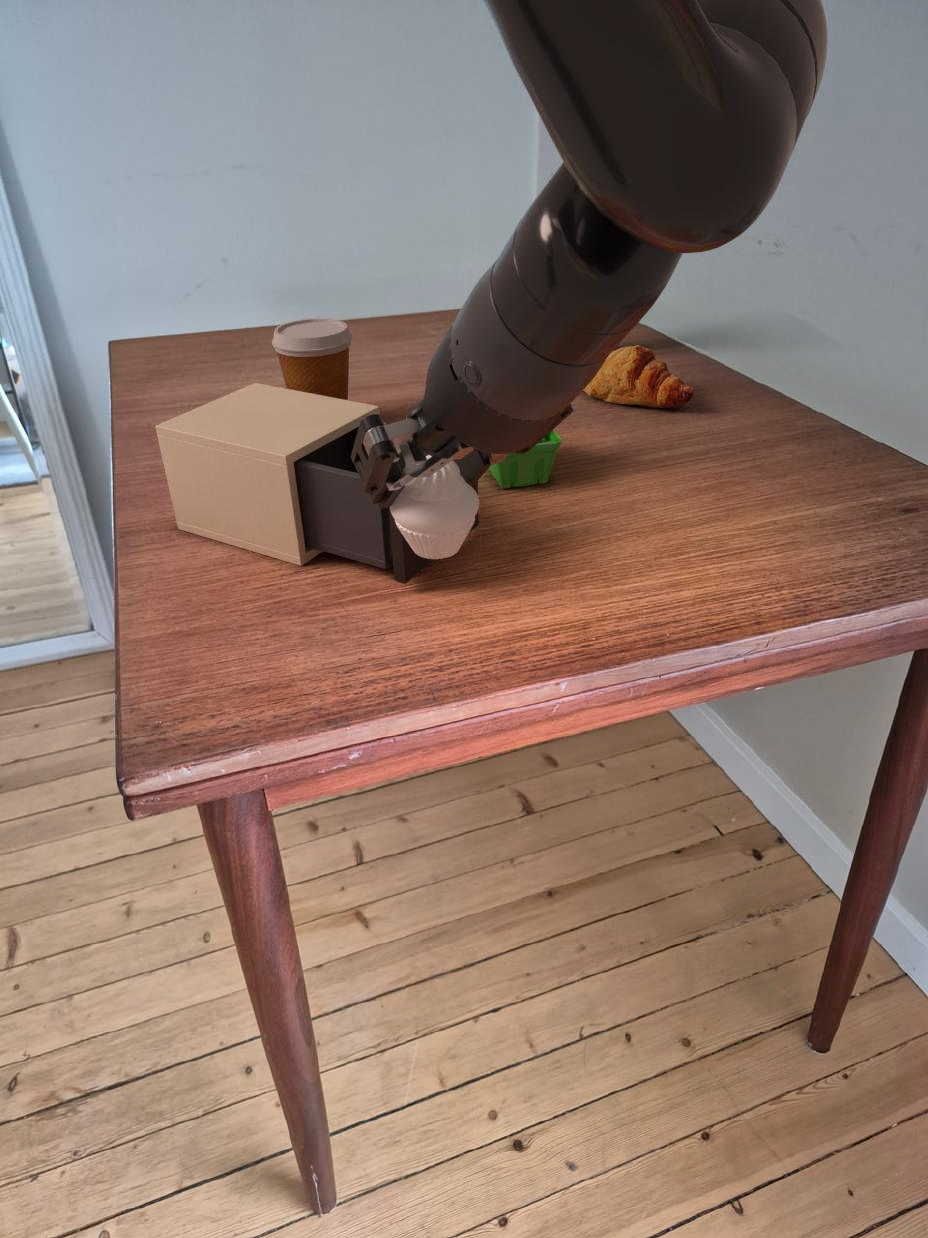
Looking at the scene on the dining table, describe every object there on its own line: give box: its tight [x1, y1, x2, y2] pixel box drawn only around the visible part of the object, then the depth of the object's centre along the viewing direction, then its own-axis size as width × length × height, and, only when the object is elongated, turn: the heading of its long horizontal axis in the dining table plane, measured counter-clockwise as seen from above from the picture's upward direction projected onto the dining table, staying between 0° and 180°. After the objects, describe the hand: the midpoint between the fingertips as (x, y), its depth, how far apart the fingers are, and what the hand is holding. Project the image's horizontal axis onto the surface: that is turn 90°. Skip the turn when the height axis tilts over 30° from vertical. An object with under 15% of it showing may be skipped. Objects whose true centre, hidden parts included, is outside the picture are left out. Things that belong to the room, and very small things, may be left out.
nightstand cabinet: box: [154, 382, 381, 567], centre depth 88 cm, size 16×14×11 cm
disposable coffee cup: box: [271, 317, 353, 401], centre depth 109 cm, size 10×10×12 cm
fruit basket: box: [487, 429, 563, 490], centre depth 96 cm, size 11×9×11 cm
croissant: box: [582, 344, 695, 409], centre depth 117 cm, size 21×10×8 cm, turn 43°
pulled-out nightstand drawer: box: [293, 427, 480, 585], centre depth 82 cm, size 16×13×9 cm
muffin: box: [390, 455, 480, 560], centre depth 61 cm, size 6×6×7 cm
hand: (421, 483), depth 62 cm, fingers closed on muffin, 6 cm apart
